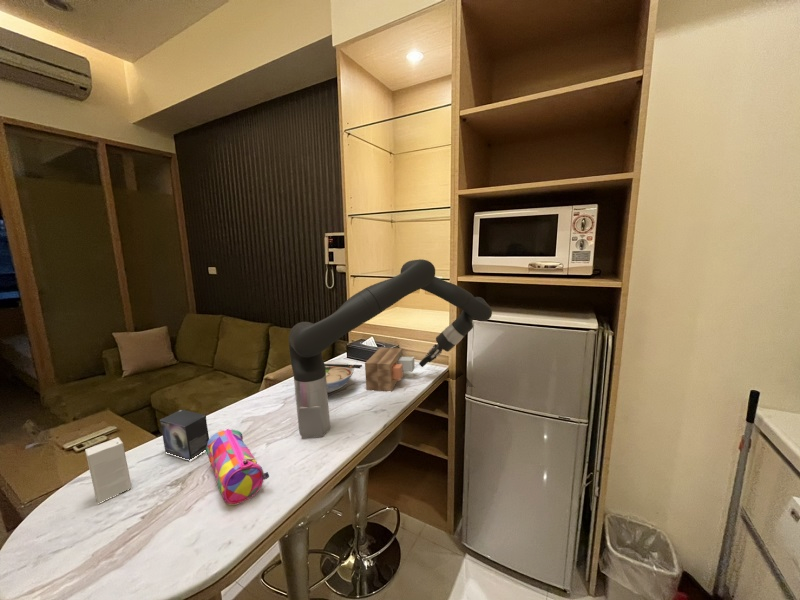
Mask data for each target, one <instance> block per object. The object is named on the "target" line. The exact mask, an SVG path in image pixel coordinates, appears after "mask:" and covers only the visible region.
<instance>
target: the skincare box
mask: <svg viewBox="0 0 800 600" xmlns="http://www.w3.org/2000/svg"><path fill="white" fill-rule="evenodd" d="M84 451H85V456H86V459H87V460H86V461H87V465H88V469H89V473H90V477H91V482H92V487H93V491H94V495H95V498H96V502H97V504H98V503H100V502H102V501H104V500H106V499H108V498H110V497H113V496H115V495H117V494H119V493H122V492H124V491H126V490H128V489H130V488H132V489H133V485H132V482H131V477H130V471H129V470H130V469H129V466H128V462H127V457H126V452H125V448H124V442H123V441H122V440H121V438H120V437H118V436H117V437H115V438H112V439H110V440H107V441H104V442H102V443H101V442H100V443H98V444H95V445H93V446H91V447H89V448H86V449H85V450H84ZM130 490H131V489H130ZM128 491H129V490H128ZM126 492H127V491H126ZM124 493H125V492H124ZM122 494H123V493H122ZM119 495H120V494H119ZM117 496H118V495H117ZM115 497H116V496H115ZM113 498H114V497H113Z"/></svg>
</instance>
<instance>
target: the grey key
mask: <svg viewBox="0 0 800 600" xmlns="http://www.w3.org/2000/svg"><path fill="white" fill-rule="evenodd" d="M398 364H403V372H409V373H413V371H414V370H415V367H416V366H415V356H402V357H399V358H398Z"/></svg>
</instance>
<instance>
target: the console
mask: <svg viewBox="0 0 800 600" xmlns="http://www.w3.org/2000/svg"><path fill="white" fill-rule="evenodd" d="M399 357H403V348H402V347H398V348H397V347H379V348H378V349H377V350H376V351H375V352H374V353H373V354H372V355H371V357H369V358H368V359H367V360H366V361H365V362H364V370H365V374H364V375H365V388H366V391H372V390H374V391H375V392H387V391H391V392H392V391H393V390H394V388H395V386H396V385H395V384H397V383H398V381H399V380H397V379H392V367H393V365H394V364H398V358H399ZM392 389H393V390H392Z"/></svg>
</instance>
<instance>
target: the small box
mask: <svg viewBox="0 0 800 600" xmlns="http://www.w3.org/2000/svg"><path fill="white" fill-rule="evenodd" d="M159 423H160V424H159V425H160V429H161V435H162V442H163V447H164V452H167V453H170V454H173V455H176V456H179V457H182V458H185V459H189V460H190V459H192V458H194V457H195V456H197V455H199V454H200V453H201V452H203V451H204V450H206V447H207V443H208V441H209V439H210V436H209V430H208V422H207V415H206V414H203V413H198V412H194V411H190V410H185V409H179V410H177V411H174V412H173V413H171V414H169V415H167V416H165V417H163V418H161V419H159Z"/></svg>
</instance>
